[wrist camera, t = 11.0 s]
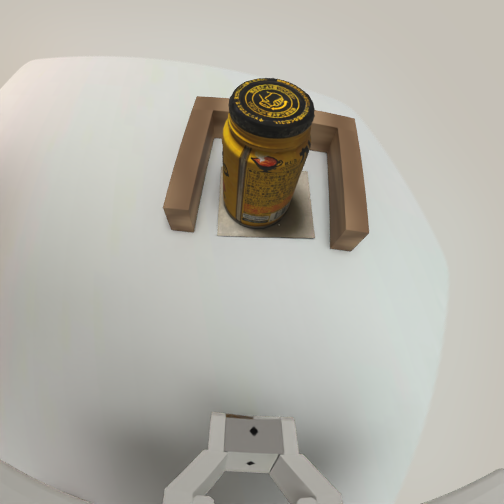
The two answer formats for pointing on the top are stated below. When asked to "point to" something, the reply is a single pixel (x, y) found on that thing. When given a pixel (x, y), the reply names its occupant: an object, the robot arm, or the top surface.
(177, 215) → the cradle
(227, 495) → the top surface
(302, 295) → the top surface
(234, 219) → the condiment
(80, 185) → the top surface
